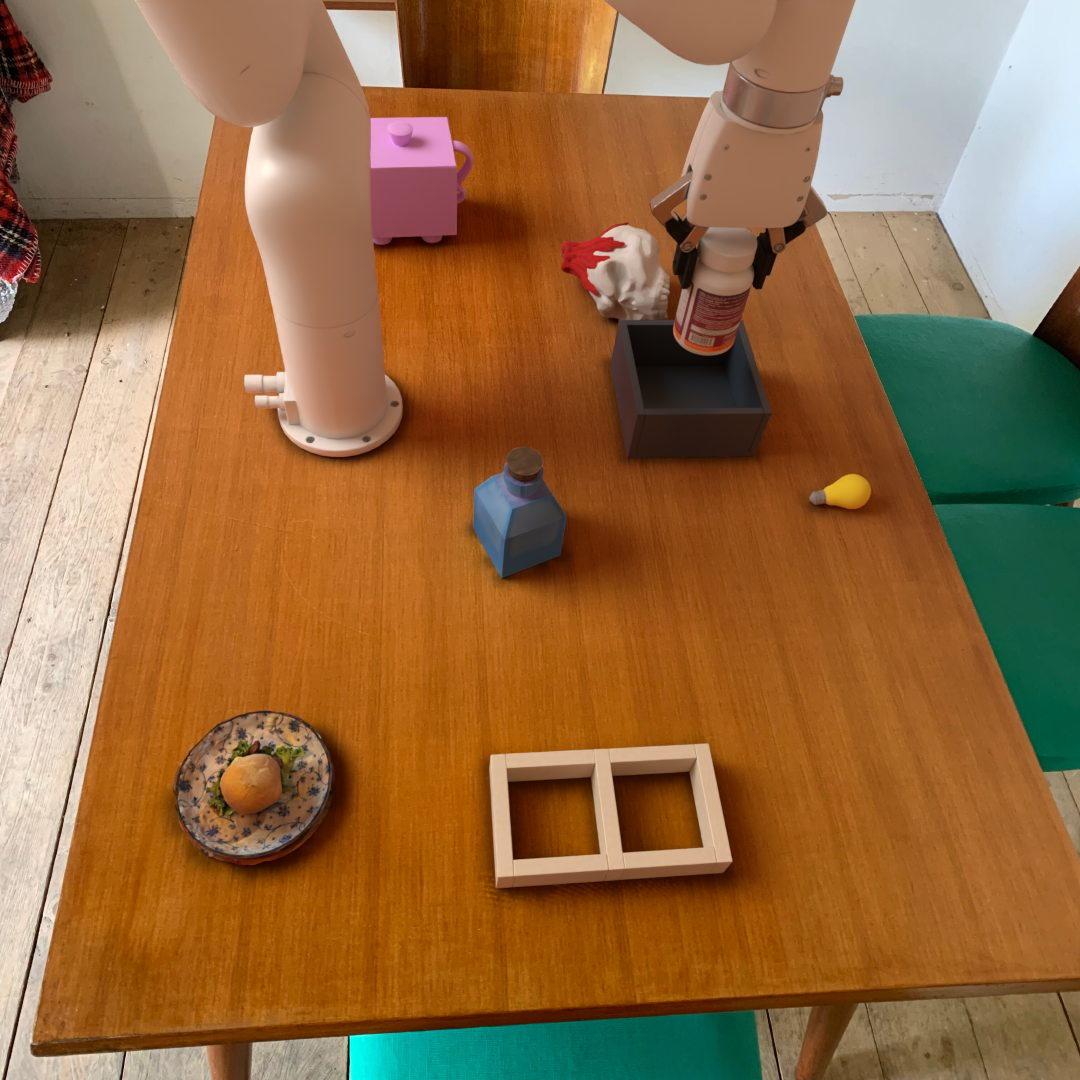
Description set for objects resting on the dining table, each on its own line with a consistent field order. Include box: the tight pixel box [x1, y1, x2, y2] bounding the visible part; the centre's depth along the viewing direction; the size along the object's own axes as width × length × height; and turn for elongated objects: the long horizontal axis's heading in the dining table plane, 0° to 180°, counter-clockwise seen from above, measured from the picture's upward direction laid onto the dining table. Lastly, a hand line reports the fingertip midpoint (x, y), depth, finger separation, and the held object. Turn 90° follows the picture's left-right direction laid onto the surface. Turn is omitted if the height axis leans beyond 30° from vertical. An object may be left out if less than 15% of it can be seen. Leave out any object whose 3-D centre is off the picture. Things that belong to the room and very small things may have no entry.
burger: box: [172, 710, 336, 866], centre depth 69 cm, size 12×12×8 cm
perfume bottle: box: [472, 446, 568, 579], centre depth 83 cm, size 6×6×12 cm
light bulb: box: [808, 473, 872, 510], centre depth 92 cm, size 3×6×4 cm, turn 94°
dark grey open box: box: [609, 319, 773, 459], centre depth 97 cm, size 14×14×7 cm
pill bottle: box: [673, 227, 757, 356], centre depth 86 cm, size 6×6×11 cm
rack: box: [488, 742, 733, 889], centre depth 71 cm, size 18×9×3 cm, turn 95°
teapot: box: [370, 116, 475, 246], centre depth 109 cm, size 20×10×12 cm, turn 99°
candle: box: [560, 222, 671, 320], centre depth 106 cm, size 9×11×15 cm
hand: (718, 278), depth 85 cm, fingers closed on pill bottle, 6 cm apart
